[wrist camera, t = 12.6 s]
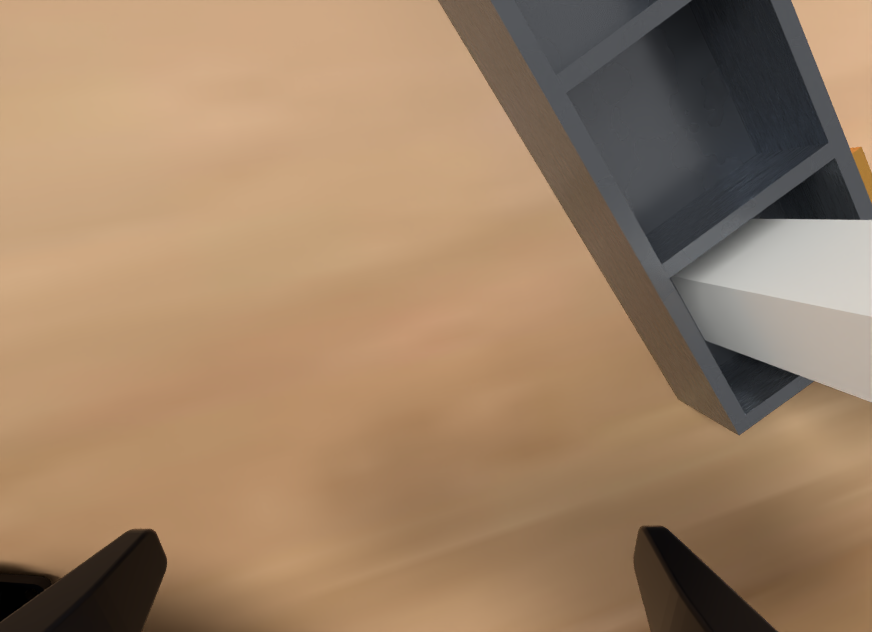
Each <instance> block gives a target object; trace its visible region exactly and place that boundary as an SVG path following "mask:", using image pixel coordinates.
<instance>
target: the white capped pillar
mask: <svg viewBox="0 0 872 632" xmlns="http://www.w3.org/2000/svg"><path fill="white" fill-rule="evenodd" d="M671 280H672V281H673V283H674V285H675V287H676V289H677V290H678V292H679V294H680V296H681V298H682V300H683V301H684V303H685V305H686V307H687V309H688V310H689V312H690V314H691V316H692V318H693V319H694V321H695V323H696V325H697V327H698V328H699V330H700V332H701V334H702V336H703V337H704V339H705V340H706V341H708V342H711V343H714V344H716V345H719V346H722V347H725V348H727V349H730V350H733V351H735V352H738V353H741V354H743V355H746V356H749V357H751V358H754V359H757V360H759V361H762V362H765V363H767V364H770V365H773V366H775V367H778V368H781V369H783V370H786V371H789V372H792V373H794V374H797V375H800V376H802V377H805V378H808V379H810V380H813V381H816V382H818V383H821V384H824V385H826V386H829V387H832V388H834V389H837V390H840V391H842V392H845V393H848V394H850V395H853V396H856V397H859V398H861V399H864V400H867V401H869V402H872V220H821V219H750V220H749V221H748V222H746V223H745V224H744V225H742V226H741V227H739V228H738V229H737V230H735V231H734V232H733V233H731V234H730V235H729V236H727V237H726V238H724V239H723V240H722V241H720V242H719V243H718V244H716V245H715V246H713V247H712V248H711V249H709V250H708V251H707V252H705V253H704V254H702V255H701V256H700V257H698V258H697V259H696V260H694V261H693V262H692V263H690V264H689V265H687V266H686V267H685V268H683V269H682V270H681V271H679V272H678V273H676V274H675V275H674V276H672V277H671Z"/></svg>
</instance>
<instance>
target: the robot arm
mask: <svg viewBox="0 0 872 632" xmlns="http://www.w3.org/2000/svg"><path fill="white" fill-rule="evenodd" d="M166 567H167V558H166V555H165V552H164V550H163V548H162V545H161V543H160V540H159V538H158V536H157V534H156V532H155V531H154V530H152V529H132V530H129V531H127V532H125V533H124V534H122V535H121V536H120V537H118V538H117V539H116V540H114V541H113V542H111V543H110V544H109V545H107V546H106V547H104V548H103V549H102V550H100V551H99V552H97V553H96V554H95V555H93V556H92V557H90V558H89V559H88V560H86V561H85V562H83V563H82V564H81V565H79V566H78V567H76V568H75V569H74V570H72V571H71V572H70V573H68V574H67V575H65V576H64V577H63V578H61V579H60V580H58V581H57V582H56V583H54V584H53V585H52V583H51V582H50V581H49V580H48V579H47V578H45V577H41V576H30V575H16V574H2V573H0V632H142V630H143V627H144V625H145V622H146V620H147V617H148V615H149V612H150V610H151V607H152V605H153V602H154V599H155V597H156V594H157V592H158V589H159V587H160V584H161V582H162V579H163V577H164V574H165V571H166ZM634 569H635V573H636V577H637V581H638V585H639V589H640V592H641V596H642V600H643V604H644V607H645V611H646V615H647V619H648V622H649V626H650V630H651V632H778V631H777V630H776V629H775V628H774V627H772V626H771V625H770V624H769V623H768V622H767V621H766V620H765V619H764V618H763V617H762V616H761V615H760V614H758V613H757V612H756V611H755V610H754V609H753V608H752V607H751V606H750V605H749V604H748V603H747V602H746V601H745V600H743V599H742V598H741V597H740V596H739V595H738V594H737V593H736V592H735V591H734V590H733V589H732V588H731V587H729V586H728V585H727V584H726V583H725V582H724V581H723V580H722V579H721V578H720V577H719V576H718V575H717V574H716V573H714V572H713V571H712V570H711V569H710V568H709V567H708V566H707V565H706V564H705V563H704V562H703V561H702V560H700V559H699V558H698V557H697V556H696V555H695V554H694V553H693V552H692V551H691V550H690V549H689V548H688V547H687V546H685V545H684V544H683V543H682V542H681V541H680V540H679V539H678V538H677V537H676V536H675V535H674V534H673V533H672V532H670V531H669V530H668V529H667V528H665V527H663V526H642V527H640V529H639V531H638V536H637V541H636V546H635V552H634ZM32 589H34V590H36V591H37V592H35V591H34V590H32Z"/></svg>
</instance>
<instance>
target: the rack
mask: <svg viewBox="0 0 872 632" xmlns="http://www.w3.org/2000/svg"><path fill="white" fill-rule="evenodd" d="M438 1H439V2H440V4H441V6H442V7H443V9H444V11H445V12H446V14H447V16H448V17H449V19H450V21H451V22H452V24H453V26H454V27H455V29H456V31H457V32H458V34H459V35H460V37H461V39H462V40H463V42H464V44H465V45H466V47H467V49H468V50H469V52H470V54H471V55H472V57H473V59H474V60H475V62H476V64H477V65H478V67H479V69H480V70H481V72H482V74H483V75H484V77H485V79H486V80H487V82H488V84H489V85H490V87H491V89H492V90H493V92H494V94H495V95H496V97H497V99H498V100H499V102H500V104H501V105H502V107H503V109H504V110H505V112H506V114H507V115H508V117H509V119H510V120H511V122H512V124H513V125H514V127H515V129H516V130H517V132H518V134H519V135H520V137H521V139H522V140H523V142H524V144H525V145H526V147H527V149H528V150H529V152H530V153H531V155H532V157H533V158H534V160H535V162H536V163H537V165H538V167H539V168H540V170H541V172H542V173H543V175H544V177H545V178H546V180H547V182H548V183H549V185H550V187H551V188H552V190H553V192H554V193H555V195H556V197H557V198H558V200H559V202H560V203H561V205H562V207H563V208H564V210H565V212H566V213H567V215H568V217H569V218H570V220H571V222H572V223H573V225H574V227H575V228H576V230H577V232H578V233H579V235H580V237H581V238H582V240H583V242H584V243H585V245H586V247H587V248H588V250H589V252H590V253H591V255H592V257H593V258H594V260H595V262H596V263H597V265H598V267H599V268H600V270H601V271H602V273H603V275H604V276H605V278H606V280H607V281H608V283H609V285H610V286H611V288H612V290H613V291H614V293H615V295H616V296H617V298H618V300H619V301H620V303H621V305H622V306H623V308H624V310H625V311H626V313H627V315H628V316H629V318H630V320H631V321H632V323H633V325H634V326H635V328H636V330H637V331H638V333H639V335H640V336H641V338H642V340H643V341H644V343H645V345H646V346H647V348H648V350H649V351H650V353H651V355H652V356H653V358H654V360H655V361H656V363H657V365H658V366H659V368H660V370H661V371H662V373H663V375H664V376H665V378H666V380H667V381H668V383H669V385H670V386H671V388H672V389H673V391H674V393H675V394H676V396H677V398H678V399H679V400H681V401H682V402H684V403H686V404H687V405H689V406H691V407H692V408H694V409H696V410H697V411H699V412H701V413H702V414H704V415H706V416H707V417H709V418H711V419H712V420H714V421H716V422H717V423H719V424H721V425H723V426H724V427H726V428H728V429H729V430H731V431H733V432H734V433H736V434H738V435H740V434H742V433H743V432H745V431H746V430H747V429H749V428H750V427H751V426H753V425H754V424H756V423H757V422H758V421H760V420H761V419H762V418H764V417H765V416H767V415H768V414H769V413H771V412H772V411H774V410H775V409H776V408H778V407H779V406H780V405H782V404H783V403H785V402H786V401H787V400H789V399H790V398H792V397H793V396H794V395H796V394H797V393H798V392H800V391H801V390H803V389H804V388H805V387H807V386H808V385H809V384H811V383H812V382H814V381H813V380H810V379H808V378H805V377H802V376H800V375H797V374H794V373H792V372H789V371H786V370H783V369H781V368H778V367H775V366H773V365H770V364H767V363H765V362H762V361H759V360H757V359H754V358H751V357H749V356H746V355H743V354H741V353H738V352H735V351H733V350H730V349H727V348H725V347H722V346H719V345H716V344H714V343H711V342H708V341H706V340H705V339H704V337H703V336H702V334H701V332H700V330H699V328H698V327H697V325H696V323H695V321H694V319H693V318H692V316H691V314H690V312H689V310H688V309H687V307H686V305H685V303H684V301H683V300H682V298H681V296H680V294H679V292H678V290H677V289H676V287H675V285H674V283H673V281H672V280H671V277H672V276H674V275H675V274H676V273H678V272H679V271H681V270H682V269H683V268H685V267H686V266H687V265H689V264H690V263H692V262H693V261H694V260H696V259H697V258H698V257H700V256H701V255H702V254H704V253H705V252H707V251H708V250H709V249H711V248H712V247H713V246H715V245H716V244H718V243H719V242H720V241H722V240H723V239H724V238H726V237H727V236H729V235H730V234H731V233H733V232H734V231H735V230H737V229H738V228H739V227H741V226H742V225H744V224H745V223H746V222H748V221H749V220H750V219H821V220H872V173H871V170H870V168H869V165H868V162H867V160H866V157H865V155H864V152H863V150H862V147H856V148H849V145H848V143H847V140H846V138H845V135H844V133H843V130H842V128H841V125H840V122H839V120H838V117H837V115H836V112H835V110H834V107H833V105H832V102H831V100H830V97H829V95H828V92H827V90H826V87H825V85H824V82H823V80H822V77H821V75H820V72H819V70H818V67H817V65H816V62H815V60H814V57H813V55H812V52H811V50H810V47H809V44H808V42H807V39H806V37H805V34H804V32H803V29H802V27H801V24H800V22H799V19H798V17H797V14H796V12H795V9H794V7H793V4H792V2H791V0H438Z"/></svg>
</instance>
